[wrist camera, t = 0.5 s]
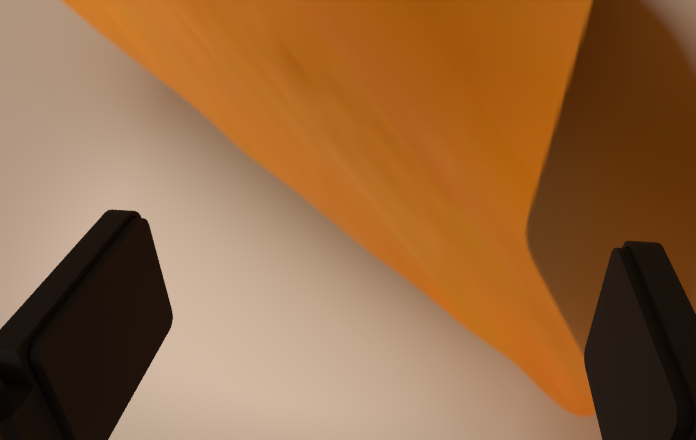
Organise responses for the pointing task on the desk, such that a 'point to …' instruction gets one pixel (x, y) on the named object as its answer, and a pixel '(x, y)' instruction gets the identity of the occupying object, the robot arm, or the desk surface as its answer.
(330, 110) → the desk surface
